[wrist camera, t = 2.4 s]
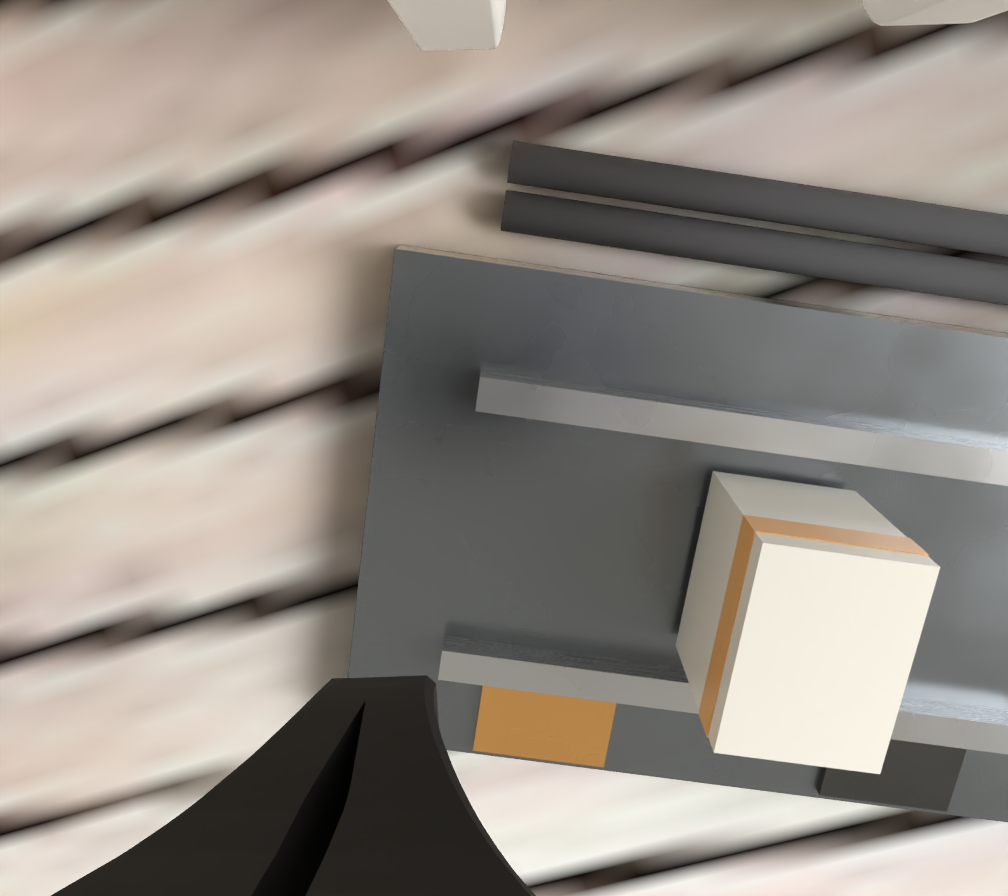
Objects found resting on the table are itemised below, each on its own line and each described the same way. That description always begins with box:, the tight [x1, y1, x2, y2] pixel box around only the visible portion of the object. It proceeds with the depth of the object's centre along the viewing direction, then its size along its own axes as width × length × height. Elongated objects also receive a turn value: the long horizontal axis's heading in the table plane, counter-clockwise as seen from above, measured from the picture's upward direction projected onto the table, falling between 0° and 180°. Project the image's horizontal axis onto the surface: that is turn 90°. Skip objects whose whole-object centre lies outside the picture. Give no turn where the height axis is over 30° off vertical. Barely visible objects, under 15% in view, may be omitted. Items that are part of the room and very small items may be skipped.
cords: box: [501, 141, 1008, 305], centre depth 19 cm, size 15×2×1 cm, turn 82°
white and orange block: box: [676, 471, 940, 774], centre depth 18 cm, size 3×4×4 cm
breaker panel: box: [348, 245, 1008, 822], centre depth 21 cm, size 17×11×2 cm, turn 82°
